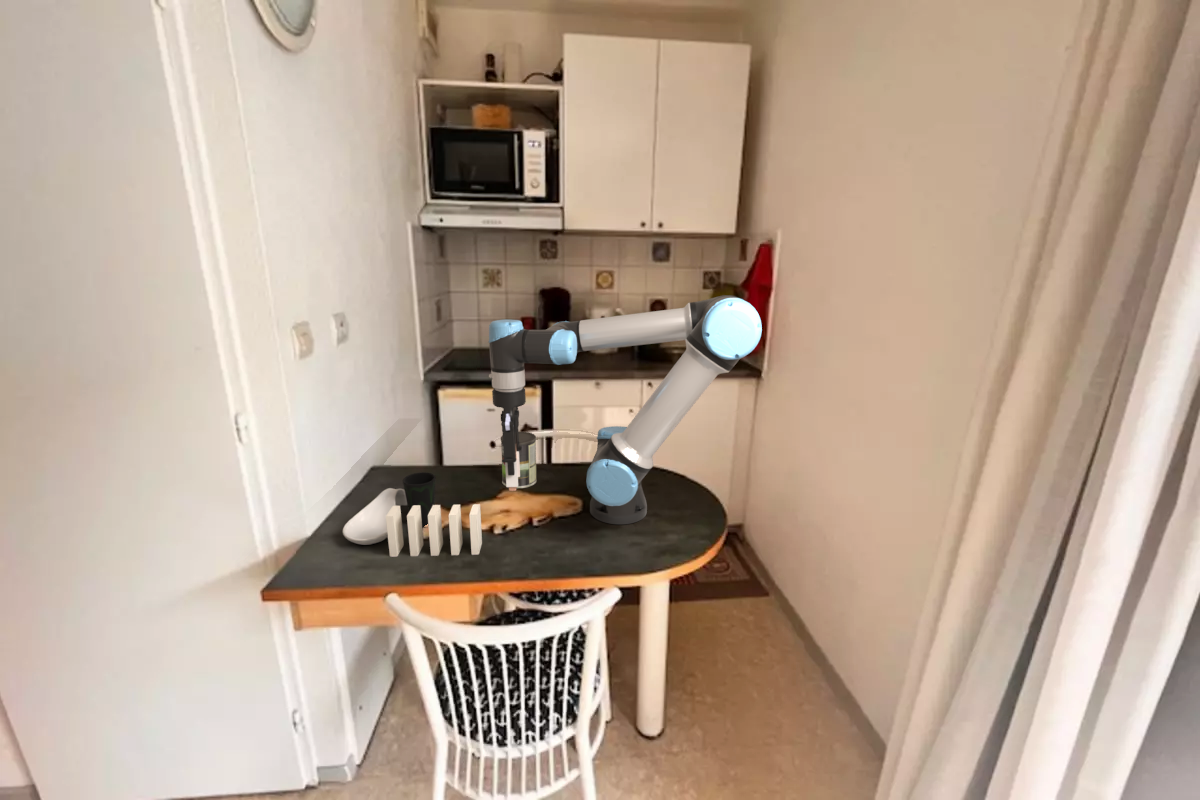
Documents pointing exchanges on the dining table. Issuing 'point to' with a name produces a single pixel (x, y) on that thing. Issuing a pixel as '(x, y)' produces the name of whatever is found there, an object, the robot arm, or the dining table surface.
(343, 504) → the dining table surface
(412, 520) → the tile
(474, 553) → the tile
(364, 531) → the spoon rest
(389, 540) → the cream flat rectangular block
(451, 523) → the tile
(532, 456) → the coffee can
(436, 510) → the tile
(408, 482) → the cup
